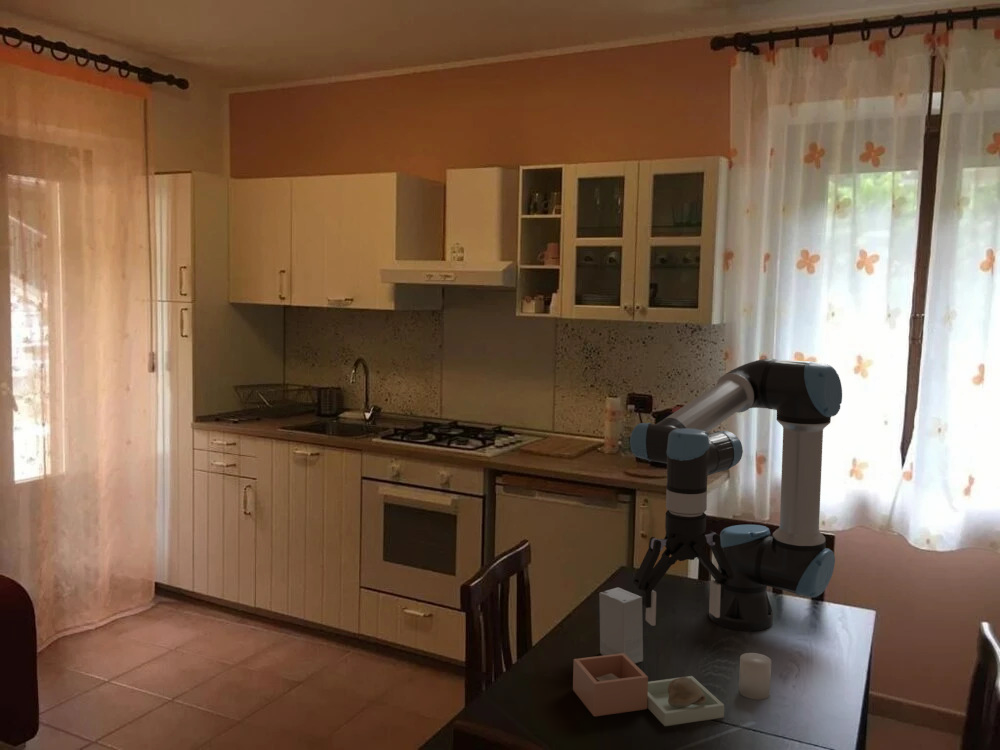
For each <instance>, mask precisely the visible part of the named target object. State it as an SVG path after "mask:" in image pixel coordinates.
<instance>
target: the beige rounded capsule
mask: <svg viewBox="0 0 1000 750" xmlns="http://www.w3.org/2000/svg"><path fill="white" fill-rule="evenodd" d="M771 672H772V659H771V658H770V657H768V656H766V655H765V654H761V653H756V652H745V653H743V654H741V655H740V657H739V676H738V679H739V680H738V693H739V694H740V695H741V696H742V697H745V698H747V699H752V700H756V701H757V700H758V701H759V700H760V701H761V700H766V699H768V698H770V695H771V675H772V674H771Z"/></svg>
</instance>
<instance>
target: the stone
mask: <svg viewBox="0 0 1000 750" xmlns="http://www.w3.org/2000/svg"><path fill="white" fill-rule="evenodd" d="M687 677H688V676H681V678H680V677H677V678H678V679H674V680H672V681H671V682H670V683H669V685H668V693H669V698H668V703H669V705H670V706H673V707H687V706H690V705H701V704H704V703H705V702H706V696H705V695H704V693H703V691H702V690H701V689H700V688H699V686H698V685H697V684H696V683H695V682H694V681H692V680H691V679H689V678H687Z"/></svg>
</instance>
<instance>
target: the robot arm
mask: <svg viewBox="0 0 1000 750" xmlns="http://www.w3.org/2000/svg"><path fill="white" fill-rule="evenodd" d="M842 387H843V386H842V382H841V378H840V376H839V374H838V372H837V371H836V369H835V368H834V367H833V366H832V365H830V364H826V363H822V362H815V361H808V360H807V361H806V360H790V359H789V360H788V359H776V358H764V359H758V360H753V361H750V362H747V363H744V364H742V365H739V366H738V367H736V368H734V369H731V370H730V371H728V372H726V373H725V374H723V375H721V377H720V378H718V380H717V382H716V385H714V386H713V387H711V388H710V389H708V390H707V391H704V392H703V393H702V394H700V395H699V396H697V397H696V398H694V399H693V400H691V401H689V402H688V403H686V404H685V405H683V406H682V407H681V408H679V409H677V410H676V411H674V412H673V413H671V414H670V415H668V416H667V417H665V418H663V419H662V420H661V421H658V422H657V423H655V424H654V423H652V422H640V423H638V424H637V425H636V426H634V428H633V429H632V431H631V434H630V438H629V444H630V451H631V453H632V454H633V455H634V457H636V458H639V459H642V460H646V461H648V462H656V463H657V462H658V463H662V464H666V487H665V488H666V493H665V508H666V509H667V510H666V512H665V520H664V521H665V524H664V525H665V526H664V528H665V536H664V538H656V537H654V536H651V537H650V538H649V542H648V549H647V550H646V553H645V555H644V558H643V559H642V562H641V563H640V566H639V568H638V570H637V572H636V574H635V576H634V579H633V581H632V584H633V586H634V587H636V588H637V590H639V591H641V593H642V594H641V597H642V607H644V608H645V621H646V623H648V624H649V625H650V626H652V627H653V626H656V623H657V622H656V620H657V591H656V590H654V589H655V587H656V586H657V585H658V583H660V581H661V580H662V578H663V577H664V576H665V575H666V573H667V572H668V571H669V569H670V568H671V566H674V565H675V563H677V562H678V561H679V562H684V561H687V560H689V561H694V560H695V559H697V560H698V561H699V562H700V563H701V564H702V566H703V567H704V568H705V569H706V570H707V571H708V573H709V574H710V575H711V576H712V578H713V579H711V580H709V605H708V606H709V607H708V617H709V618H710V620H711V621H712V622H713V623H715V624H717V625H719V626H721V627H724V628H726V629H731V630H735V631H736V630H737V631H742V632H744V631H745V632H755V631H764V630H766V629H768V628H770V627H771V626H772V625H773V621H774V618H773V617H774V613H773V609H772V605H771V602H770V598H769V595H768V591H767V589H768V588H767V587H770V588H774V589H777V590H781V591H785V592H788V593H790V594H791V593H792V594H795V595H796V596H804V597H807V598H817V597H819V596H821V595H822V594H823V593H824V591H825V590H826V589H827V588H828V586H829V584H830V582H831V580H832V576H833V574H834V569H835V566H836V565H835V563H836V557H835V553H834V551H833V550H831V549H830V548H826V537H825V536H824V534H823V533H822V532H821V531H820V510H821V488H822V487H821V486H822V465H823V463H822V461H823V442H824V441H823V438H824V429H825V428H826V427H828V425H830V424H831V419H832V417H835V416H836V415H837V414H838V413H839V412H840V410H841V404H842V401H843V388H842ZM755 408H756V409H767V410H772V411H773V410H774V411H776V421H777V422H778V423H779V424H780V425H781V426H782V448H781V449H782V451H781V453H782V454H781V455H782V457H781V460H782V461H781V479H780V480H781V482H780V484H781V485H780V511H779V513H780V514H779V527H778V528H777V529H775V531H774V532H772V535H771V531H770V528H769V527H767V526H764V525H761V524H738V525H737V524H736V525H731V526H728V527H724V528H723V529H722V530H721V531H720V534H718V533H716V532H714V531H712V530H710V531H709V532H708V533H707V534H705V532H706V530H707V514H706V513H705V512H706V511H707V509H708V508H707V506H708V505H707V503H708V501H707V500H708V496H707V495H708V494H707V493H708V476H710V475H712V474H717V473H719V472H724V471H728V470H729V469H731V468H733V467H735V466H737V465H738V463H740V461H741V459H742V457H743V452H744V451H743V445H742V442H741V440H740V438H739V437H738V436H737V435H736V434H735V433H733V432H731V431H728V430H718V431H717V430H716V431H714V432H711V431H712V430H713V429H715V428H716V427H717V426H719V425H721V424H722V423H723V422H724V421H726V420H728V419H729V418H731V417H732V416H734V415H735V414H736V413H744V412H746V411H749V409H755ZM706 544H707V545H709V548H710V549H711V552H712V554H713V556H714V559H715V560H716V563H717V567H716V566H715V564H714V563H713V562H712V561H711V560H710V558H709V557H708V554H706V553H705V551H704V550H703V548H704V547H705V545H706ZM664 547H665V550H663V549H664ZM661 551H663V552H662V553H661ZM660 553H661V557H660V559H659V556H660ZM658 559H659V560H658Z"/></svg>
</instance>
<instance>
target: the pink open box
mask: <svg viewBox="0 0 1000 750" xmlns="http://www.w3.org/2000/svg"><path fill="white" fill-rule="evenodd" d="M636 664H637V663H634V662H633V661H632V660H631V659H630V658H629V657H628V656H627V655H626V654H625V653H620V654H612V655H598V656H597V655H596V656H589V657H581V658H574V659H573V668H572V671H573V672H572V673H573V674H572V675H573V676H572V691H573V692H574V693H575V694H576V696H577V697H578V698H579V700H580V701H581V702H582V704H583V705H584V706H585V708H586V709H588V711H589V712H590V713H591V714H592V716H593V717H595V718H596V717H600V716H609V715H613V714H623V713H628V712H635V711H645V710H647V709H648V708H647V696H648V682H649V676H648V675H646V673H645V672H644V671H643V670H642V669H640V667H639V666H638V665H636ZM610 673H612V674H613V675H615V676H617V677H618V678H620V679H614V680H606V681H598V682H597V681H596V680H595V678H597V677H600V676H603V675H607V674H610Z"/></svg>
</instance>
